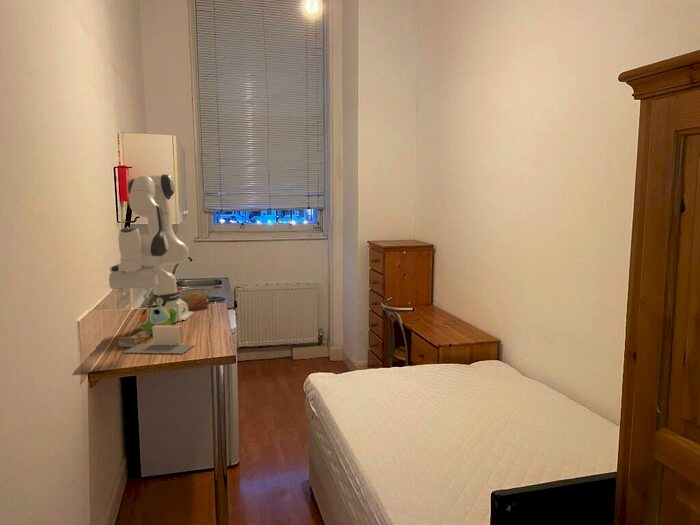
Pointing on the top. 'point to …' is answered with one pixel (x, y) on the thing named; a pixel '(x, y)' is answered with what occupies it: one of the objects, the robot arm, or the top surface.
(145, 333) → the scraper
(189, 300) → the brown rounded slab
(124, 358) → the top surface
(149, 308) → the turtle holder
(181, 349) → the mat
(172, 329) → the tile
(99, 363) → the top surface
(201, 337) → the top surface
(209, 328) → the top surface
